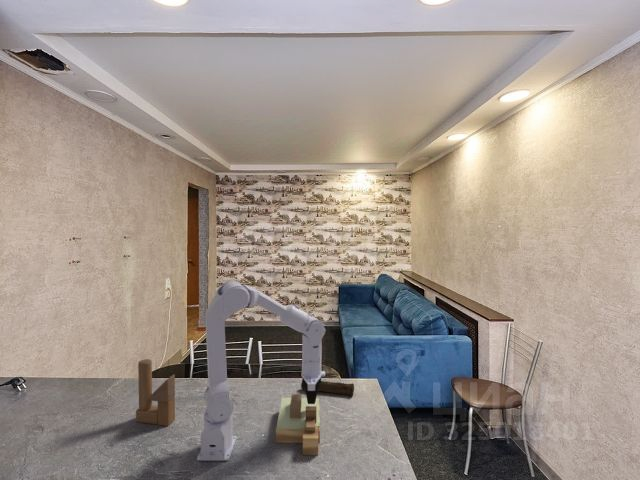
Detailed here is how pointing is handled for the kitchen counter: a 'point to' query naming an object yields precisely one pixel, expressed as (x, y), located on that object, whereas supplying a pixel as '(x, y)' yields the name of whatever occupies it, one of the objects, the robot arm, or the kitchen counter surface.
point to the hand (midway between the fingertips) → (311, 402)
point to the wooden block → (155, 397)
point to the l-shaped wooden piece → (310, 418)
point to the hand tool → (335, 388)
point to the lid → (295, 412)
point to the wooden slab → (300, 438)
